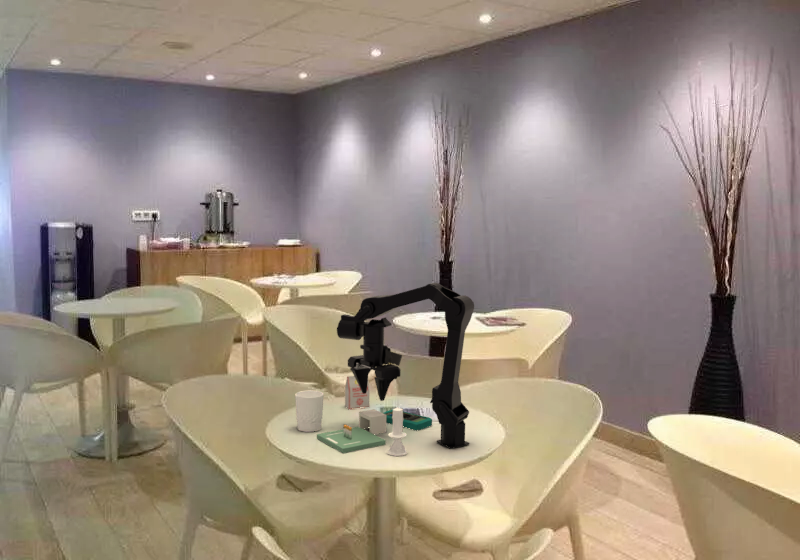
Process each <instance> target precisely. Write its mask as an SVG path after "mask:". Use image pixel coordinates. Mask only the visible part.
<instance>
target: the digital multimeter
mask: <svg viewBox="0 0 800 560" xmlns="http://www.w3.org/2000/svg"><path fill="white" fill-rule="evenodd" d="M382 413H383V414H386V424H389V423H390V425H393V419H392V416H393V409H389V410H387V411H384V412H382ZM431 425H432V426H433V419H432V418H431V417H430V416H424V415H419V414H415V413H411V412H407V411H404V410H403V426H404V427H403V428H405V427H407V428H406V429H408V428H410V429H409V430H412V429H413V431H415V430H416V432H418V431H421V429H422V430H425V429H427V428H429V426H430V427H431ZM417 430H418V431H417Z"/></svg>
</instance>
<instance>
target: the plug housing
mask: <svg viewBox="0 0 800 560" xmlns="http://www.w3.org/2000/svg"><path fill="white" fill-rule="evenodd" d="M383 413H384V412H380V411H379V410H377V409H368V410H362V411H358V427H360V428H362V429H364V428H367V429H369V432H370V433H372V434H375V435H379V433H380V434H383V433H387V423H386V414H383ZM368 427H370V428H368ZM364 430H365V429H364Z"/></svg>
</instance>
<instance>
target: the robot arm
mask: <svg viewBox="0 0 800 560" xmlns="http://www.w3.org/2000/svg"><path fill="white" fill-rule="evenodd" d="M426 300H430V301H432V302H433V303H434V304H435V305H436V306H437V307H438V308H439V309H441V310H442V311H444V320H445V324H446V327H447V334H446V342H445V350H444V359H443V364H442V372H441V380H440V382H439V384H437V385H436V386H434V387H432V390H431V400H430V401H429V403H430V404H432V405H431V409H432V411H433V412H434V413H435V415H436V417H437V421H438V424H439V425H440V439H437V440H436V441H435V442H436V443H437V444H439V445H442V446H444V447H446V448H448V449H451V450H453V449H457V448H460V447H464V446H465V447H466V446H469V445H470V442H468V441H467V440H466V422H465V420H466V419H468V417H469V414H470V410H469V409H468V408H467V407H466V406H465V404H463V402H462V391H461V387H460V384H459V379H460V370H461V364H462V358H463V357H462V356H463V348H464V342H465V334H466V330H467V328H468V326H469V323H470V322H471V319H472V316H473V313H474V311H475V304H474V301H473V299H472V298H471V297H469V296H467V295H463V294H462V295H461V294H460V293H459V292H456V291H454V290H451V289H450V288H447V287H445V286H443V285H442V284H440V283H438V282H431V283H428V284H426V285H423V286H420V287H417V288H414V289H409V290H406V291H403V292H399V293H395V294H383V295H375V296H371V297H366V298H364V299H362V301H361V303H360V308H359V310H358V311H357V312H356V313H355V315H351V314H341V315H340V320H339V322H338V324H337V327H336V335H337V337H338V338H339V339H342V340H345V339H346V340H354V341H359V340H361V339H363V342H362V343H363V344H360V346H359V347H360V349H361V350H362V352H363V353H362V354H360V355H353V356H350V357H348V359H347V367H348V368H349V370H350V371H351V372H352V375H353V376H355V378H356V380H357V382H358V384H359V387H360V389H361V391H362V393H363V394H365V393H366V392H367V384H368V381H369V374H370V373H371V372H372V371H374V375H375V377H374V382H375V387H376V389H377V394H378V398H379V401H380V402H383V401H385V398H386V396H387V393H388V391H389V388H390V385H391V383H392V382H394V380H397V379H398V378H399V377H401V370H402V369H401V368H400V364H401V361H402V358H403V355H402V354H399V353H396V352H393V351H391V348H390V347H388V345H386V344H385V328H387V327H391V326H392V322H390V321H389V320H388V319H387V317H382V316H384V315H386V314H388V313H390V312H392V311H395V310H396V309H398V308H400V307H404V306H407V305H410V304H415V303H419V302H422V301H426ZM379 317H382V318H381V319H375V318H379ZM367 320H370V321H367Z"/></svg>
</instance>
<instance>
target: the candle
mask: <svg viewBox="0 0 800 560" xmlns="http://www.w3.org/2000/svg"><path fill="white" fill-rule="evenodd" d="M392 410H393V416H392V419H393V424H392V431H391V432H389V433H388V437H390V438H392V439H393V441H392V444H391V445H390V446H389V449H388V450H387V451H386V453H387V455H388V456H393V457H402V456H406V455H407V454H408V452H409V451H407V450H406V447H405V445H404V444H403V441H402V439H403V438H405V437H407V436H408V434H407V433H406V432H403V429H404V427H403V411H404V409H403V408H400V407H395V408H393V409H392Z"/></svg>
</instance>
